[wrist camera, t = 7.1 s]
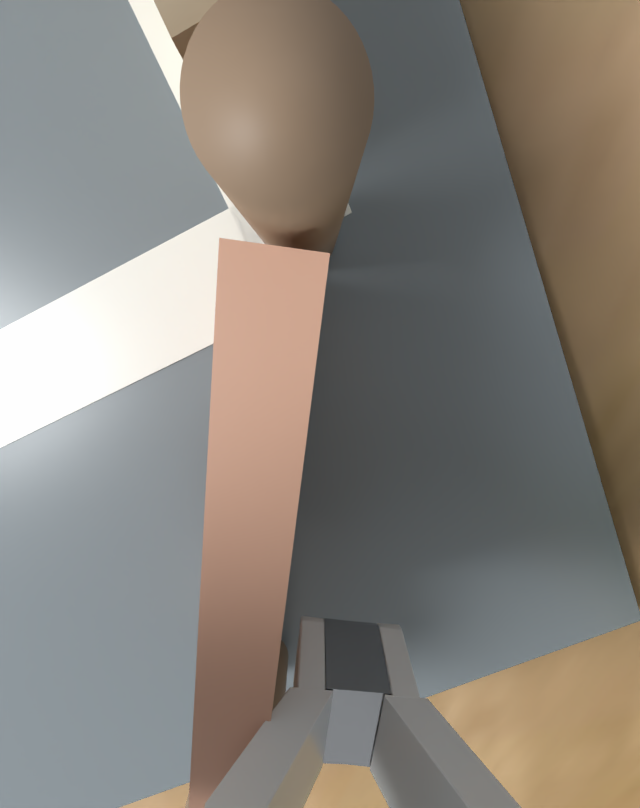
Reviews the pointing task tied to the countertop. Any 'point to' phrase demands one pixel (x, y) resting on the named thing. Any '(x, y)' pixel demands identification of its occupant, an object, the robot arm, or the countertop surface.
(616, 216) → the countertop surface
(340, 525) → the card
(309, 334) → the hinged fence panel
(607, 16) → the countertop surface
